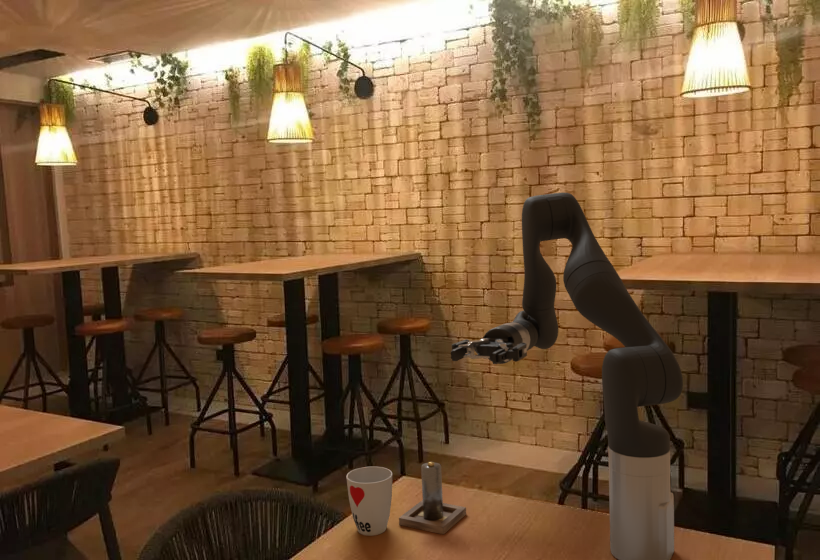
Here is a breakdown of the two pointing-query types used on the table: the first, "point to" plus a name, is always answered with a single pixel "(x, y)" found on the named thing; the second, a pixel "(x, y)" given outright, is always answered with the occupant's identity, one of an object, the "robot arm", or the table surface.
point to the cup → (370, 498)
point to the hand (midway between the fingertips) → (473, 357)
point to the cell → (432, 491)
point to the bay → (438, 526)
